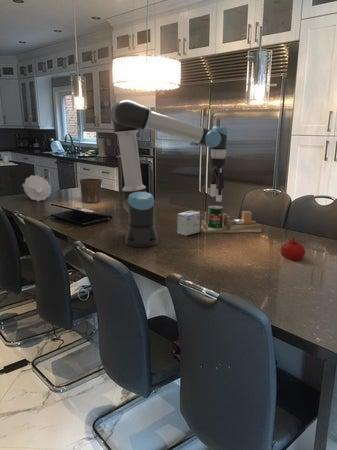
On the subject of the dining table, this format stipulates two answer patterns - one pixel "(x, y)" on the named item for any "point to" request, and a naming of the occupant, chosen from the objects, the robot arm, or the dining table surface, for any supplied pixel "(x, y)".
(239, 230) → the base
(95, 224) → the dining table surface
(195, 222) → the light bulb box
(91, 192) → the plant pot
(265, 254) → the dining table surface
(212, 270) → the dining table surface
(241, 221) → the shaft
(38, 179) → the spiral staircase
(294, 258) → the pomegranate
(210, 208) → the canned tomato
